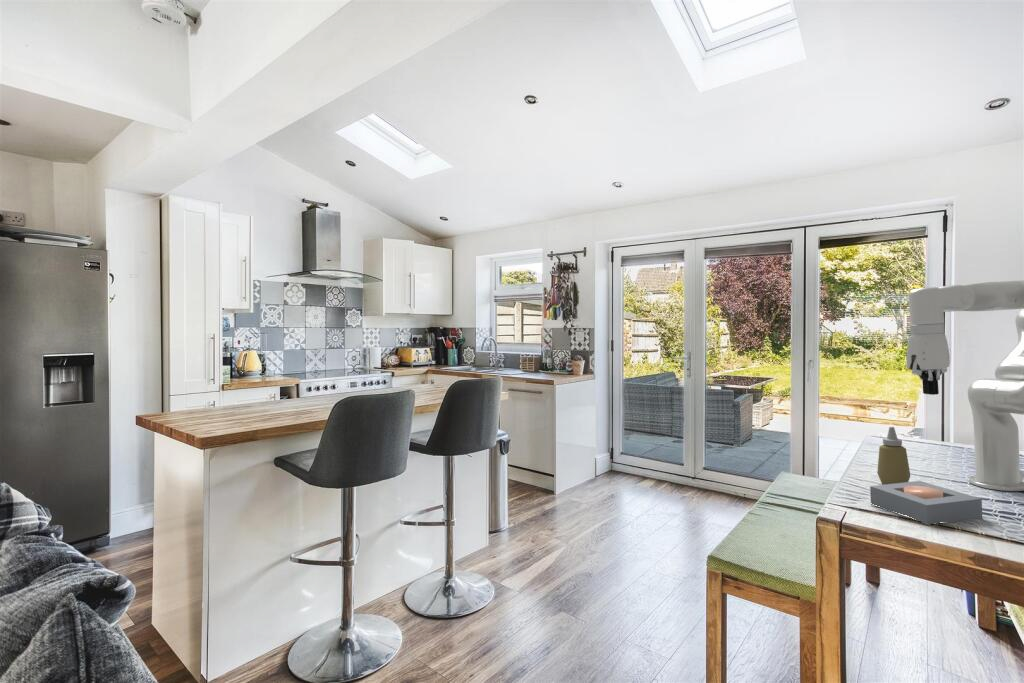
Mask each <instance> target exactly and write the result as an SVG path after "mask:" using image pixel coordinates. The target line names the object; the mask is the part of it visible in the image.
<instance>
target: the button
mask: <svg viewBox="0 0 1024 683" xmlns="http://www.w3.org/2000/svg"><path fill="white" fill-rule="evenodd" d="M904 493H907V494H911V495H914V496H917V497H920V498H923V499H931V498H940V497H943V492H942V491H940V490H938V489H935V488H930V487H924V486H906V487H904Z"/></svg>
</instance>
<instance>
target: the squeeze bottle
mask: <svg viewBox="0 0 1024 683" xmlns="http://www.w3.org/2000/svg"><path fill="white" fill-rule="evenodd" d="M878 449H879V450H878V460H877V475H878V478H879V481H880V483H881V485H886V484H895V483H904V482H910V479H911V471H910V464H909V459H908V452H907V448H906V447H904V446H903V439H901V438H899V437H898V436H897V433H896V430H895V427H893V426H889V427H888V431H887V436H886V437H883V438H882V444H881V445H879V448H878Z"/></svg>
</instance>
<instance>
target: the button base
mask: <svg viewBox="0 0 1024 683" xmlns="http://www.w3.org/2000/svg"><path fill="white" fill-rule="evenodd" d="M906 486H924V487H930V488H935V489H938V490H940V491H942V492H943V497H940V498H931V499H923V498H920V497H917V496H914V495H911V494H907V493H904V487H906ZM869 489H870V490H869V491H870V504H871V503H872V504H874V505H877V506H880V507H882V508H885V509H887V510H886V511H888V510H890V511H894V512H897V513H900V514H903V515H907V516H909V517H912V518H914V519H916V520H919V521H921V522H922V523H925V524H927V525H926V526H930V525H929V524H934V523H940V522H951V523H957V522H956V521H959V522H966V521H965V520H967V521H973V520H981V519H983V501H982V500H983V499H982V498H981V497H977V496H974V495H971V494H967V493H964V492H961V491H956V490H953V489H950V488H946V487H942V486H939V485H936V484H933V483H928V482H925V481H922V480H915V481H914V480H913V481H908V482H904V483H895V484H886V485H882V484H878V485H870V487H869ZM872 504H871V505H872ZM874 505H873V506H874ZM877 506H876V507H877ZM880 507H879V508H880ZM882 508H881V509H882ZM885 509H884V510H885ZM890 511H889V512H890ZM922 523H921V524H922ZM925 524H924V525H925Z"/></svg>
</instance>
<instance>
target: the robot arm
mask: <svg viewBox="0 0 1024 683" xmlns="http://www.w3.org/2000/svg"><path fill="white" fill-rule="evenodd" d="M908 307H909V308H908V310H909V322H910V323H909V326H910V328H909V329H910V336H908V340H907V344H906V346H907V347H906V367H907V369H908V370H911V374H912V375H913V376H918V377H919V379H920V380H921V381H922V394H924V395H933V396H934V395H939V394H940V393H939V392H940V391H939V380H941V375H943V374H944V373H947V372H948V368H949V367H950V361H951V360H950V357H951V356H950V351H949V350H950V349H949V344H948V339H947V336H946V332H945V331H946V330H945V316H944V315H945V314H944V313H945V312H946V313H949V312H952V313H953V312H991V311H992V312H993V311H1005V310H1007V311H1009V310H1020V311H1019V312H1018V313H1016V317H1015V327H1016V332H1017V336H1018V342H1017V344H1016V345H1015V347H1014V348H1013V349H1012V350H1011V351H1010V352H1009V353H1008V354H1006V356H1005V357H1004V358H1003V359H1001V362H999V364H998V365H997V367H996V368H995V371H994V376H995V378H981V379H978V380H975V381H973V382H972V383H971V384H970V385H969V386H968V389H967V398H968V402H969V405H970V408H971V412H972V413H971V414H972V419H973V423H972V424H973V441H974V442H973V443H974V467H975V468H974V469H975V470H974V471H975V472H974V474H975V475H972V476H970V477H968V482H969V483H970V484H972V485H974V486H976V487H980V488H984V489H989V490H995V491H1005V492H1023V491H1024V481H1023V479H1024V470H1021V466H1020V464H1021V463H1020V439H1019V438H1020V437H1019V434H1020V433H1019V426H1018V423H1017V421H1016V420H1015V418H1014V417H1013V415H1012V414H1016V415H1017V414H1018V415H1024V279H1023V280H1009V281H1007V280H1006V281H984V282H977V283H970V284H952V285H951V284H950V285H943V286H942V285H941V286H940V285H939V286H934V287H933V286H931V287H921V288H914V289H911V290H909V292H908Z"/></svg>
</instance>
